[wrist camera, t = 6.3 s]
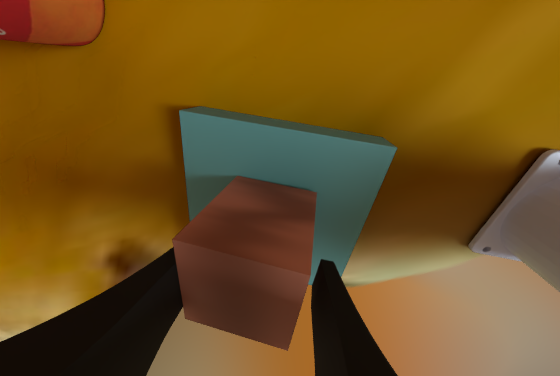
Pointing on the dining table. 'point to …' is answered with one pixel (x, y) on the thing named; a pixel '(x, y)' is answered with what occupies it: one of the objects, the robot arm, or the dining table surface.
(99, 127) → the dining table surface
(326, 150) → the teal base board
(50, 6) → the paper cup
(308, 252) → the red wood block
